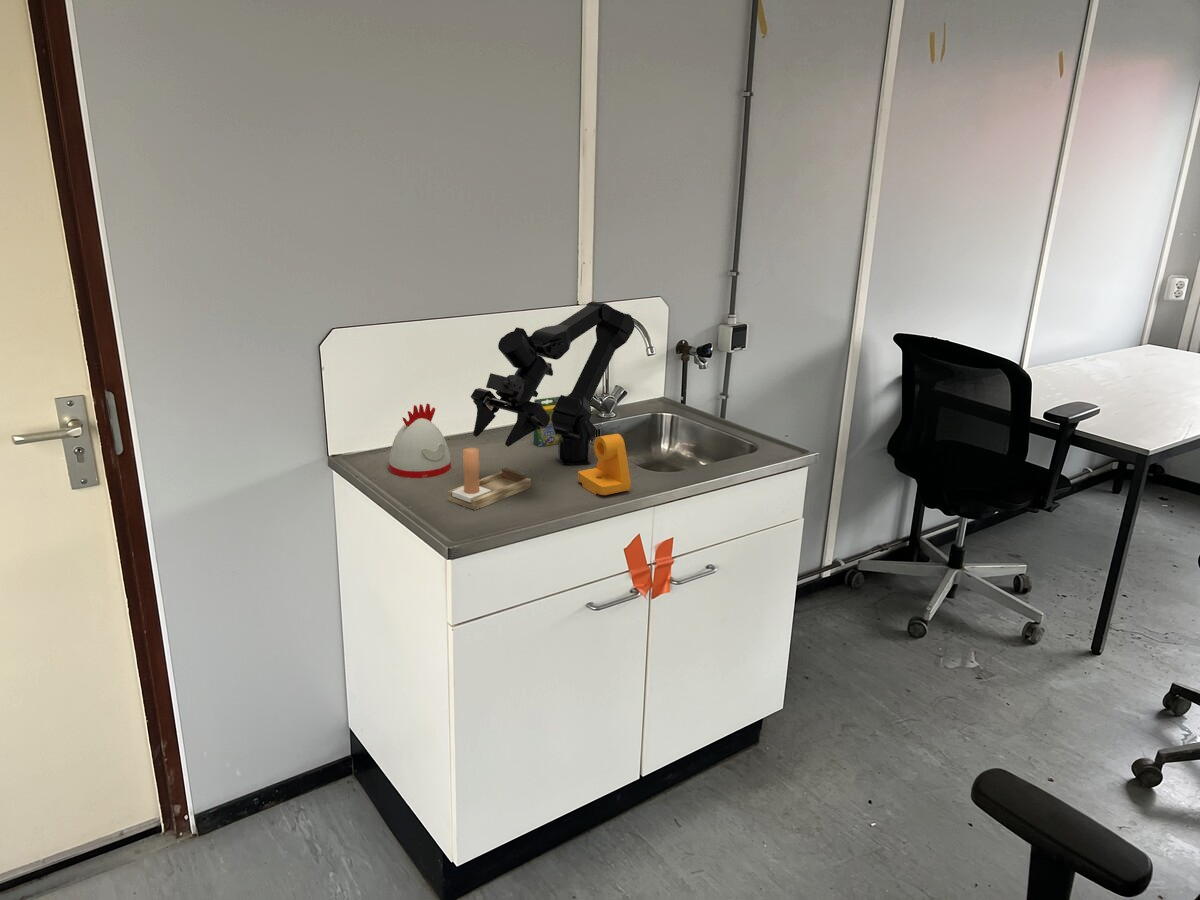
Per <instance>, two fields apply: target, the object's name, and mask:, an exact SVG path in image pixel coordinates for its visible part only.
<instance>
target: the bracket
mask: <svg viewBox="0 0 1200 900" xmlns="http://www.w3.org/2000/svg"><path fill="white" fill-rule="evenodd" d="M593 451H594V454H595V457H596V458H597V459H598V460H597V462H596V466H595V467H594V468H589V469H584V470H579V471H578V472H577V473H578V474H577V481H578V482H580V483H581V484H582V485H581V487H582V486H583V488H584V489H586V490H587V491H589V492H590V491H591V493H594V494H593V495H595V494H598V495H601V496H608V495H612V494H617V493H621V492H625V491H627V492H628V491H630V490H631V482H632V481H631V475H630V467H629V464H628V463H629V462H628V456H627V449H626V445H625V439H624V437H622V435H621V434H620V433H613V434H606V435H601V436H597V437H595V439H594V441H593Z"/></svg>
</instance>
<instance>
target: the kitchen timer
mask: <svg viewBox="0 0 1200 900" xmlns="http://www.w3.org/2000/svg"><path fill="white" fill-rule="evenodd" d="M412 410H413V411H412V412H411V411H409V410H408V411H407V416H408V420H407V419H406V417H401V418H402V421H403V423H404V424H403V425H402V426H401V427H400V429H399V430H398V431H397V433H396V434H395V437H394V439H393V441H392V446H391V449H390V453H389V461H388V466H389V471H390V473H392V474H393V473H394V475H395V474H396V475H395V476H398V475H399V477H403V478H408V477H410V479H423V478H424V477H427V478H433V477H437V476H440V475H443V474H446V473H448V472H449V471H450V470H451V468H452V465H451V463H452V462H451V461H452V460H451V454H450V453H451V452H450V450H449V447H448V444H447V441H446V438H445V436H444V435H443V433H442V431H441V430H440V429H439V427H438V426H436V425H435V424H434V423H433V422H432V420H433V417H434V415H435V411H436V408H435V407H432V408H431V405H430V403H428V402H427V403H426V406H425V409H424V406H423V404H421V403H419V406H417V405H416V404H414V405H413V409H412Z"/></svg>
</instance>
